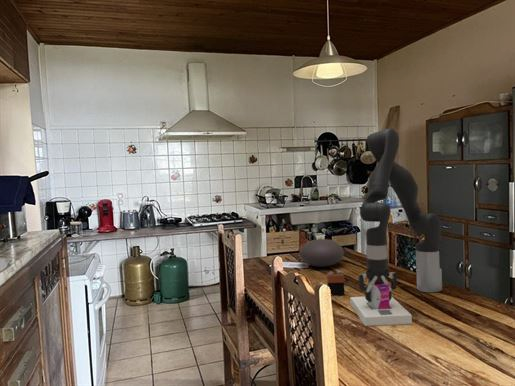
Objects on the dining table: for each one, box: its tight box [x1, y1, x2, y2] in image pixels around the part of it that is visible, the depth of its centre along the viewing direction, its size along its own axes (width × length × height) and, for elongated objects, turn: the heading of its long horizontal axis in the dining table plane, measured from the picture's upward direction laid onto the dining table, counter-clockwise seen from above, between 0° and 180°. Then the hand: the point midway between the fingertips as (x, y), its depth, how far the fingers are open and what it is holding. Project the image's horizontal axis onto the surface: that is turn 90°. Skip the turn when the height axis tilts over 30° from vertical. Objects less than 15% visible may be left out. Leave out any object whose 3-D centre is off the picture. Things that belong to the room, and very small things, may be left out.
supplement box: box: [368, 283, 390, 310], centre depth 146 cm, size 6×6×12 cm
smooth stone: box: [298, 238, 345, 268], centre depth 223 cm, size 25×25×15 cm
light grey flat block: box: [349, 295, 413, 327], centre depth 146 cm, size 16×22×3 cm
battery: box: [326, 270, 346, 297], centre depth 171 cm, size 4×7×10 cm, turn 85°
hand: (378, 300), depth 146 cm, fingers closed on supplement box, 6 cm apart
